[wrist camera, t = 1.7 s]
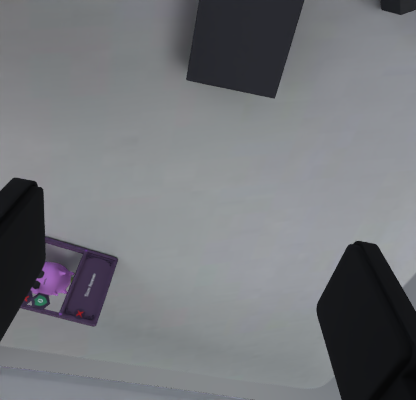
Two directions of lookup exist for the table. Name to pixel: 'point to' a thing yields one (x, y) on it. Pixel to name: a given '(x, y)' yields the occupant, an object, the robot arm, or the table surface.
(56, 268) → the game card
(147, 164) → the table surface
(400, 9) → the black flat block
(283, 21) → the tab pad
